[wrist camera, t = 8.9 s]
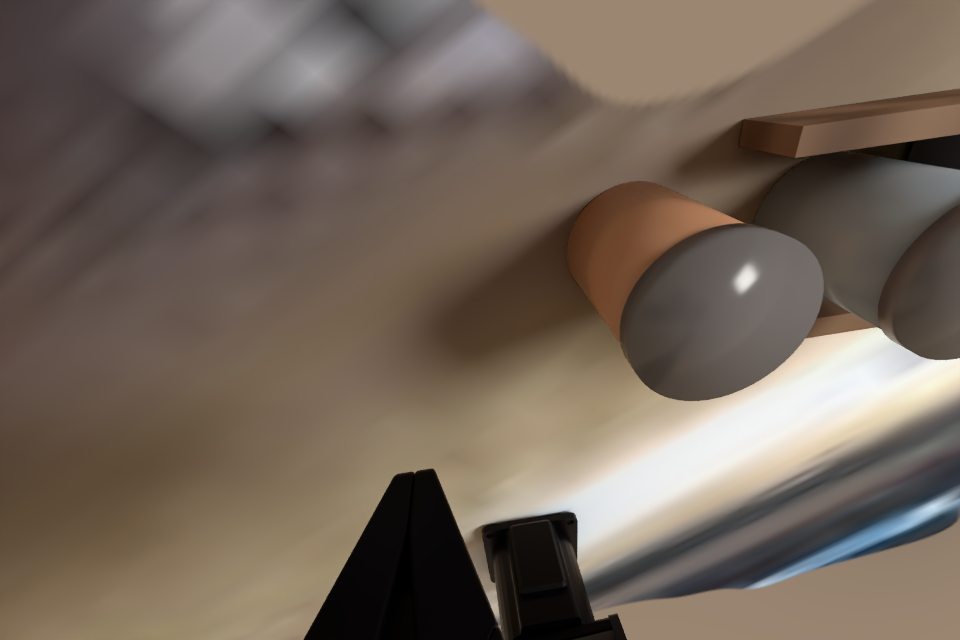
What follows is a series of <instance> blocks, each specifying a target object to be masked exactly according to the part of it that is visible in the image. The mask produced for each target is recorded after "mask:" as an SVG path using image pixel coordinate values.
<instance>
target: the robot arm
mask: <svg viewBox="0 0 960 640" xmlns="http://www.w3.org/2000/svg"><path fill="white" fill-rule="evenodd" d="M482 537H483V542H484V547H485V552H486V558H487V563H488V568H489V573H490V578H491V581H492V582H494V583H496V591H497V599H498V607H499V615H500V623H501V630H502V632H501V630H500V628H499V627H498V623H497V620H496V618H495V615H494V613H493V611H492V608H491V606H490V603H489V601H488V598H487V596H486V594H485V591H484V589H483V586H482V584H481V581H480V579H479V576H478V574H477V572H476V569H475V567H474V564H473V562H472V559H471V557H470V555H469V552H468V550H467V547H466V545H465V542H464V540H463V537H462V535H461V533H460V530H459V528H458V525H457V523H456V520H455V518H454V516H453V513H452V511H451V508H450V506H449V503H448V501H447V498H446V496H445V494H444V491H443V489H442V486H441V484H440V481H439V479H438V477H437V474H436V472H435V470H434V469H426V470H419V471H417V472H416V473H414V472H407V473H401V474H397V475H395V476H394V477H393V479H392V481H391V483H390V484H389V486H388V488H387V490H386V492H385V493H384V495H383V497H382V499H381V501H380V502H379V504H378V506H377V508H376V510H375V511H374V513H373V515H372V517H371V519H370V521H369V522H368V524H367V526H366V528H365V530H364V531H363V533H362V535H361V537H360V539H359V540H358V542H357V544H356V546H355V548H354V549H353V551H352V553H351V555H350V557H349V558H348V560H347V562H346V564H345V566H344V567H343V569H342V571H341V573H340V575H339V577H338V578H337V580H336V582H335V584H334V586H333V587H332V589H331V591H330V593H329V595H328V596H327V598H326V600H325V602H324V604H323V605H322V607H321V609H320V611H319V613H318V614H317V616H316V618H315V620H314V622H313V623H312V625H311V627H310V629H309V631H308V633H307V634H306V636H305V638H304V640H627V639H626V636H625V633H624V630H623V628H622V625H621V622H620V620H619V617H618V614H612V615H608V616H609V617H608V618H604V619H600V620H596V621H595V619H594V616H593V613H592V609H591V606H590V603H589V599H588V596H587V593H586V589H585V586H584V583H583V579H582V576H581V573H580V569H579V566H578V563H577V518H576V515H575V514H574V513H563V514H557V515H551V516H545V517H539V518H533V519H527V520H521V521H515V522H509V523H503V524H497V525H491V526H486V527H484V528H483V529H482Z"/></svg>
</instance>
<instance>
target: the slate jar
mask: <svg viewBox="0 0 960 640" xmlns="http://www.w3.org/2000/svg"><path fill="white" fill-rule="evenodd" d="M753 224H756V225H761V226H765V227H768V228H770V229H773V230H775V231H778V232H780V233H782V234H785V235H787V236H789V237H791V238H794V239H796V240H798V241H799V242H801V243H802V244H804V245H805V246H806V247H807V248H808V249H809V250H810V251H812V253H813V254H814V256H815V257H816V258H817V260H818V262H819V265H820V267H821V269H822V274H823V279H824V292H823V298H825V299H827V300H829V301H831V302H832V303H834V304H836V305H838V306H840V307H842V308H843V309H845V310H847V311H849V312H851V313H852V314H854V315H856V316H858V317H860V318H862V319H863V320H865V321H867V322H869V323H871V324H873V325H874V326H876V327H878V328H880V329H882V331H883V332H884V334H885V335H886V336H887V337H888V338H889V339H890V340H892V341H894V342H896V343H897V344H899V345H901V346H903V347H904V348H906V349H908V350H910V351H912V352H913V353H915V354H917V355H919V356H921V357H924V358H927V359H934V360H949V359H957V358H960V170H957V169H951V168H945V167H939V166H933V165H927V164H921V163H914V162H908V161H902V160H896V159H890V158H884V157H878V156H872V155H866V154H860V153H854V152H848V151H840V152H833V153H826V154H819V155H816V156H813V157H811V158H809V159H807V160H805V161H803V162H802V163H800V164H798V165H797V166H795V167H794V168H792V169H791V170H790V171H788V172H787V173H786V174H785V175H784V176H783V177H782V178H781V179H780V180H779V181H778V182H777V183H776V184H775V185H774V186H773V187H772V189H771V190H770V191H769V192H768V194H767V195H766V197H765V198H764V200H763V201H762V203H761V205H760V207H759V209H758V211H757V214H756V216H755V219H754V223H753Z"/></svg>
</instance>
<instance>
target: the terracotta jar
mask: <svg viewBox="0 0 960 640" xmlns="http://www.w3.org/2000/svg"><path fill="white" fill-rule="evenodd" d="M567 262H568V266H569V269H570V272H571V274H572V276H573V278H574V279H575V281H576V282H577V284H578V285H579V286H580V288H581V289H582V291H583V292H584V293H585V295H586V296H587V297H588V299H589V300H590V302H591V303H592V304H593V306H594V307H595V309H596V310H597V311H598V313H599V314H600V316H601V317H602V318H603V320H604V321H605V322H606V324H607V325H608V327H609V328H610V329H611V331H612V332H613V334H614V335H615V336H616V338H617V339H618V341H619V342H620V343H621V347H622V350H623V353H624V355H625V357H626V359H627V361H628V362H629V364H630V365H631V367H632V368H633V370H634V371H635V372H636V374H637V375H638V377H639V378H640V379H641V380H642V382H643V383H644V384H645V385H646V386H648V387H649V388H650V389H651V390H653V391H655V392H656V393H658V394H660V395H663V396H665V397H668V398H672V399H676V400H684V401H700V400H709V399H714V398H719V397H722V396H726V395H729V394H732V393H734V392H737V391H739V390H742V389H744V388H746V387H748V386H750V385H752V384H754V383H756V382H757V381H759V380H761V379H762V378H764V377H765V376H767V375H768V374H770V373H771V372H772V371H774V370H775V369H776V368H778V367H779V366H780V365H781V364H782V363H783V362H785V361H786V360H787V359H788V358H789V357H790V356H791V355H792V354H793V353H794V351H795V350H796V349H797V348H798V347H799V346H800V344H801V343H802V342H803V340H804V339H805V338H806V336H807V335H808V333H809V331H810V330H811V328H812V326H813V324H814V323H815V320H816V318H817V316H818V313H819V310H820V307H821V303H822V299H823V292H824V279H823V274H822V269H821V267H820V265H819V262H818V260H817V258H816V257H815V256H814V254H813V253H812V251H810V250H809V249H808V248H807V247H806V246H805V245H804V244H802V243H801V242H799V241H798V240H796V239H794V238H791V237H789V236H787V235H785V234H782V233H780V232H778V231H775V230H773V229H770V228H768V227H765V226H761V225H756V224H749V223H743V222H741V221H739V220H737V219H734V218H732V217H730V216H728V215H725V214H723V213H721V212H719V211H717V210H714V209H712V208H710V207H708V206H705V205H703V204H701V203H699V202H697V201H694V200H692V199H690V198H688V197H686V196H683V195H681V194H679V193H677V192H674V191H672V190H670V189H668V188H666V187H663V186H661V185H658V184H656V183H652V182H646V181H634V182H627V183H623V184H620V185H617V186H614V187H612V188H610V189H608V190H606V191H604V192H603V193H601V194H600V195H598V196H597V197H596V198H595V199H593V200H592V201H591V202H590V203H589V204H588V205H587V206H586V207H585V208H584V209H583V211H582V212H581V213H580V215H579V216H578V218H577V219H576V221H575V223H574V225H573V227H572V229H571V232H570V235H569V239H568V244H567Z"/></svg>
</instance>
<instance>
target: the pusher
mask: <svg viewBox="0 0 960 640" xmlns="http://www.w3.org/2000/svg"><path fill="white" fill-rule="evenodd" d="M907 161H908V162H914V163H921V164H927V165H933V166H939V167H945V168H951V169H957V170H960V134H957V135H950V136H944V137H937V138H930V139H923V140H916V141H915V142H914V145H913V147H912V150H911V152H910V155H909V157H908V160H907Z"/></svg>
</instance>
